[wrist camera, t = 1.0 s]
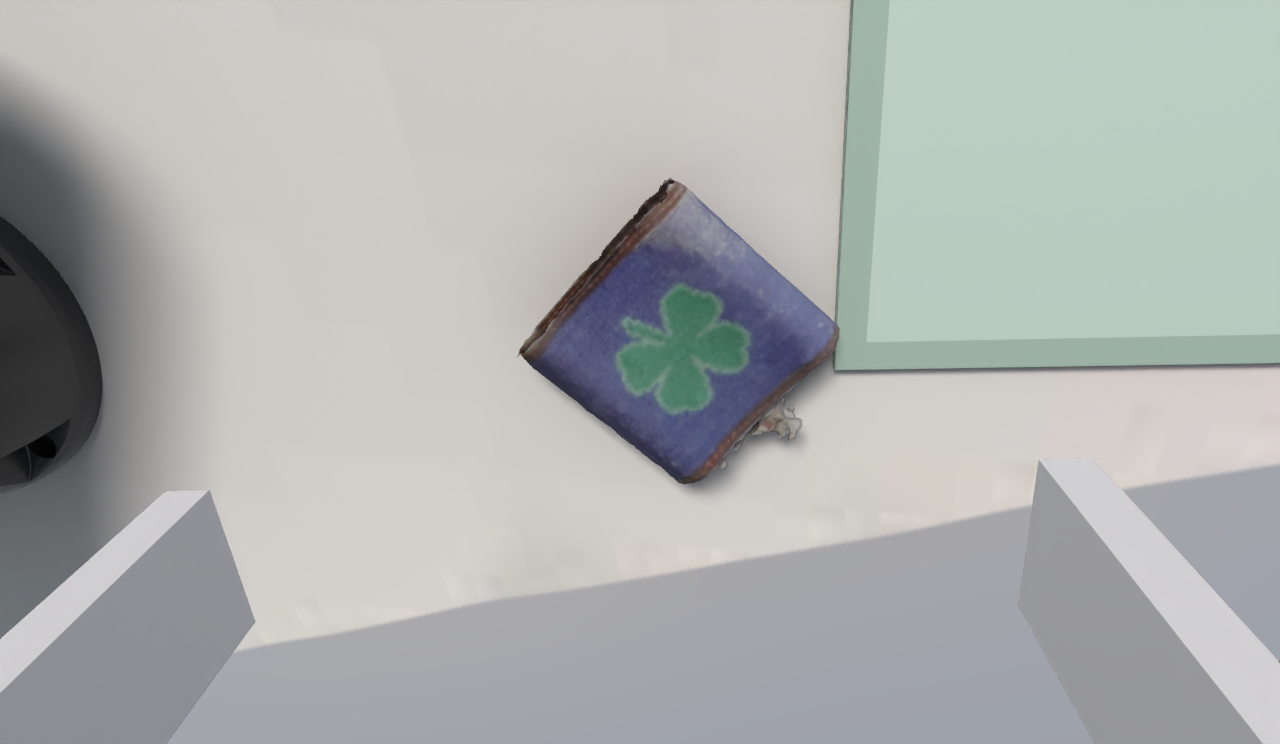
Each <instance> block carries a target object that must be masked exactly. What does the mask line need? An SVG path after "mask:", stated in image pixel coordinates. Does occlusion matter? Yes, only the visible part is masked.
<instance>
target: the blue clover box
mask: <svg viewBox="0 0 1280 744" xmlns="http://www.w3.org/2000/svg"><path fill="white" fill-rule="evenodd" d="M839 332H840V328H839V327H838V325H837V324H836V323H835V322H834V321H833V320H832V319H831V318H830V317H828V316H827V315H826V314H825V313H824V312H823V311H822V310H820V309H819V308H818V307H817V306H816V305H815V304H814V303H813V302H811V301H810V300H809V299H808V298H807V297H806V296H805V295H804V294H803V293H802V292H800V291H799V290H798V289H797V288H796V287H795V286H794V285H792V284H791V283H790V282H789V281H788V280H787V279H786V278H785V277H783V276H782V275H781V274H780V273H779V272H778V271H777V270H776V269H775V268H773V267H772V266H771V265H770V264H769V263H768V262H767V261H766V260H765V259H764V258H762V257H761V256H760V255H759V254H758V253H756V252H755V251H754V250H753V249H752V248H751V247H750V246H749V245H748V244H747V243H746V242H745V241H744V240H743V239H742V238H741V237H740V236H739V235H738V234H737V233H735V232H734V231H733V230H732V229H730V228H729V227H728V226H727V225H726V224H725V223H724V222H723V221H722V220H721V219H720V218H719V217H718V216H717V215H716V214H714V213H713V212H712V211H711V210H710V209H709V208H708V207H707V206H706V205H705V204H704V203H702V202H701V201H700V200H699V199H698V198H697V197H696V196H695V195H694V194H693V193H692V192H691V191H690V190H689V189H688V188H687V187H686V186H684V185H683V184H681V183H679V182H677V181H674V180H672V179H671V178H669V180H666V181H664V183H663V185H662V186H661V185H660V188H659V191H658V192H657V193H656V194H655V195H653V196H652V197H650V198H649V199H648V200H646V201H645V202H644V204H643V205H642V206H641V207H640V208H639V210H638V213H637V214H636V215H634V218H633V219H631V220H629V222H628V223H627V224H626V225H625V226H624V227H623V228H622V229H621V231H620V232H619V233H618V234H617V235H616V237H614V238H613V240H612V241H611V242H610V243H609V244H608V245H607V246H606V248H605V249H604V250H603V252H602V256H600V257H599V260H597V261H595V262H594V263H592V264H591V265H590V266H589V268H588V269H587V270H586V271H584V272H583V273H582V274H581V275H580V276H579V277H578V279H577V280H576V281H575V282H574V283H573V285H572V286H571V288H569V291H567V292H566V293H565V294H564V295H563V297H562V298H561V299H560V300H559V301H558V302H557V304H556V305H555V306H554V307H553V308H552V309H551V310H550V312H549V313H548V314H547V315H546V316H545V317H544V319H543V320H542V321H541V322H540V323H539V324H538V325H537V326H536V328H535V329H534V331H533V333H532V335H531V336H530V337H529V338H528V339H527V340H526V341H525V343H524V344H523V346H522V347H521V348H520V351H519V355H520V354H521V355H522V357H523V358H524V359H525V360H526V361H527V362H528V363H529V364H530V365H531V366H532V367H533V368H534V369H535V370H537V371H538V372H539V373H541V374H542V375H543V376H544V377H546V378H547V379H548V380H550V381H551V382H552V383H554V384H555V385H556V386H557V387H559V388H560V389H561V390H563V391H564V392H565V393H567V394H568V395H569V396H571V397H572V398H573V399H575V400H576V401H577V402H578V403H579V404H580V405H582V406H583V407H584V408H585V409H586V410H587V411H588V412H590V413H592V414H593V415H595V416H596V417H597V418H598V419H600V420H601V421H603V422H604V423H605V424H607V425H608V426H610V427H611V428H612V429H613V430H615V431H616V432H617V433H618V434H619V435H620V436H621V437H622V438H624V439H625V440H626V441H628V442H629V443H630V444H632V445H634V446H635V447H636V448H637V449H638V450H640V451H641V452H642V453H643V454H644V455H646V456H647V457H648V458H649V459H650V460H652V461H653V462H654V463H656V464H658V465H659V466H661V467H662V468H663V469H664V470H665V471H666V472H667V473H668V474H669V475H670V476H672V477H674V478H675V479H676V480H677V481H678V482H679V483H682V484H688V483H695V482H697V481H700V480H702V479H703V478H705V477H706V476H707V475H708V474H709V473H711V472H713V471H715V470H716V469H717V468H718V469H720V470H721V469H725V468H726V467H727V462H726V460H725V459H724V457H725V456H727V454H728V453H729V452H730V451H731V449H732V448H733V447H734V445H735V448H734V451H737V450H738V448H739V447H740V446H741V445H742V443H743V441H744V439H745V437H746V435H747V434H748V433H749V434H751V435H760V434H761V433H763V432H769V431H772V432H778V435H779V437H778V438H779V439H780V438H781V437H785V436H786V435H787V434H788V433H789V432H790V435H789V436H788V439H792V438H795V434H796V432H797V431H798V430H799V429H800V428H801V426H802V420H801V419H799V418H796V417H795V415H794V414H793V413H792V411H793V410H794V409H795V408H794V407H793V406H789V407H788V410H787V409H786V408H785V406H784V405H783V404H784V397H783V396H784V395H785V394H787V393H788V392H789V391H790V390H791V389H793V387H794V386H795V385H796V384H797V383H798V382H800V381H801V380H803V379H804V378H805V377H806V376H807V375H808V374H809V373H810V372H812V371H813V370H814V369H816V368H817V367H818V366H820V365H821V364H822V363H823V362H824V361H825V360H826V359H828V357H829V356H830V355H831V354H832V353H833V352H834V350H835V349H836V345H837V342H838V340H839V338H840V337H839ZM519 355H518V356H519ZM518 356H517V357H518ZM789 410H790V411H789Z"/></svg>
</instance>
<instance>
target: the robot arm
mask: <svg viewBox="0 0 1280 744" xmlns="http://www.w3.org/2000/svg"><path fill="white" fill-rule="evenodd" d="M101 395H102V376H101V367H100V360H99V355H98V351H97V347H96V344H95V341H94V337H93V334H92V332H91V329H90V327H89V324H88V322H87V320H86V317H85V315H84V313H83V311H82V309H81V307H80V305H79V304H78V302H77V300H76V298H75V297H74V295H73V293H72V292H71V290H70V288H69V287H68V285H67V284H66V283H65V281H64V280H63V278H62V277H61V276H60V274H59V273H58V272H57V270H56V269H55V268H54V267H53V265H52V264H51V263H50V262H49V261H48V260H47V258H46V257H45V256H44V255H43V254H42V253H41V252H40V251H39V250H38V249H37V248H36V247H35V246H34V245H33V244H32V243H31V242H30V241H29V240H28V239H27V238H26V237H25V236H24V235H23V234H22V233H21V232H19V231H18V230H17V229H16V228H15V227H13V226H12V225H11V224H10V223H9V222H7V221H6V220H5V219H3V218H2V217H0V493H4V492H7V491H11V490H14V489H18V488H20V487H23V486H26V485H28V484H30V483H32V482H34V481H36V480H38V479H40V478H42V477H44V476H46V475H47V474H49V473H50V472H52V471H53V470H55V469H56V468H58V467H59V466H61V465H62V464H64V463H65V462H66V461H68V460H69V459H70V458H71V457H72V456H74V455H75V454H76V453H77V452H78V451H79V449H80V448H81V447H82V446H83V445H84V443H85V442H86V440H87V439H88V437H89V435H90V434H91V432H92V430H93V428H94V425H95V423H96V420H97V417H98V413H99V409H100V403H101ZM1018 606H1019V608H1020V610H1021V612H1022V614H1023V615H1024V617H1025V619H1026V621H1027V623H1028V624H1029V626H1030V628H1031V630H1032V632H1033V633H1034V635H1035V637H1036V639H1037V641H1038V642H1039V644H1040V646H1041V648H1042V650H1043V651H1044V653H1045V655H1046V657H1047V658H1048V660H1049V662H1050V664H1051V666H1052V668H1053V669H1054V671H1055V673H1056V675H1057V677H1058V678H1059V680H1060V682H1061V683H1062V686H1063V687H1064V689H1065V691H1066V693H1067V695H1068V696H1069V698H1070V700H1071V702H1072V703H1073V705H1074V707H1075V709H1076V711H1077V713H1078V714H1079V716H1080V718H1081V720H1082V722H1083V723H1084V725H1085V727H1086V729H1087V730H1088V732H1089V734H1090V736H1091V738H1092V739H1093V741H1094V743H1095V744H1280V661H1277V659H1276V658H1275V657H1274V656H1273V655H1272V654H1271V653H1270V652H1269V650H1268V649H1267V648H1266V647H1265V646H1264V645H1263V644H1262V643H1261V642H1260V641H1259V639H1258V638H1257V637H1256V636H1255V635H1254V634H1253V633H1252V632H1251V631H1250V630H1249V629H1248V627H1246V625H1245V624H1244V623H1243V622H1242V621H1241V620H1240V619H1239V618H1238V617H1237V615H1236V614H1235V613H1234V612H1233V611H1232V610H1231V609H1230V608H1229V607H1228V606H1227V605H1226V603H1224V601H1223V600H1222V599H1221V598H1220V597H1219V596H1218V595H1217V594H1216V592H1215V591H1214V590H1213V589H1212V588H1211V587H1210V586H1209V585H1208V584H1207V583H1206V582H1205V581H1204V579H1203V578H1202V577H1201V576H1200V575H1199V574H1198V573H1197V572H1196V571H1195V569H1194V568H1193V567H1192V566H1191V565H1190V564H1189V563H1188V562H1187V561H1186V560H1185V559H1184V558H1183V556H1182V555H1181V554H1180V553H1179V552H1178V551H1177V550H1176V549H1175V548H1174V547H1173V545H1172V544H1171V543H1170V542H1169V541H1168V540H1167V539H1166V538H1165V537H1164V536H1163V535H1162V533H1161V532H1160V531H1159V530H1158V529H1157V528H1156V527H1155V526H1154V525H1153V524H1152V522H1151V521H1150V520H1149V519H1148V518H1147V517H1146V516H1145V515H1144V514H1143V513H1142V512H1141V511H1140V509H1139V508H1138V507H1137V506H1136V505H1135V504H1134V503H1133V502H1132V501H1131V500H1130V498H1129V497H1128V496H1127V495H1126V494H1125V493H1124V492H1123V491H1122V490H1121V489H1120V487H1119V486H1118V485H1117V484H1116V483H1115V482H1114V481H1113V480H1112V479H1111V478H1110V477H1109V475H1108V474H1107V473H1106V472H1105V471H1104V470H1103V469H1102V468H1101V467H1100V466H1099V465H1098V463H1097V462H1096V461H1095V460H1094V459H1093V458H1069V459H1042V460H1039V462H1038V469H1037V476H1036V483H1035V490H1034V497H1033V504H1032V511H1031V519H1030V526H1029V532H1028V539H1027V547H1026V553H1025V560H1024V568H1023V575H1022V582H1021V589H1020V596H1019V603H1018ZM254 623H255V619H254V617H253V614H252V611H251V608H250V605H249V602H248V599H247V596H246V594H245V591H244V588H243V585H242V582H241V579H240V576H239V574H238V571H237V568H236V565H235V562H234V559H233V556H232V553H231V551H230V548H229V545H228V542H227V539H226V536H225V533H224V531H223V528H222V525H221V522H220V519H219V516H218V513H217V510H216V508H215V505H214V502H213V499H212V496H211V493H210V490H193V491H166V492H164V493H163V494H162V495H161V496H160V497H159V498H158V499H156V500H155V501H154V502H153V503H152V504H151V505H150V506H149V507H148V508H146V509H145V510H144V511H143V512H142V513H141V514H140V515H139V516H137V517H136V518H135V519H134V520H133V521H132V522H131V523H130V524H128V525H127V526H126V527H125V528H124V529H123V530H122V531H121V532H120V533H118V534H117V535H116V536H115V537H114V538H113V539H112V540H111V541H109V542H108V543H107V544H106V545H105V546H104V547H103V548H102V549H100V550H99V551H98V552H97V553H96V554H95V555H94V556H93V557H92V558H90V559H89V560H88V561H87V562H86V563H85V564H84V565H83V566H81V567H80V568H79V569H78V570H77V571H76V572H75V573H74V574H72V575H71V576H70V577H69V578H68V579H67V580H66V581H65V582H64V583H62V584H61V585H60V586H59V587H58V588H57V589H56V590H55V591H53V592H52V593H51V594H50V595H49V596H48V597H47V598H46V599H44V600H43V601H42V602H41V603H40V604H39V605H38V606H37V607H36V608H34V609H33V610H32V611H31V612H30V613H29V614H28V615H27V616H25V617H24V618H23V619H22V620H21V621H20V622H19V623H18V624H16V625H15V626H14V627H13V628H12V629H11V630H10V631H9V632H7V633H6V634H5V635H4V636H3V637H2V638H1V639H0V744H167V742H168V741H169V740H170V738H171V737H172V735H173V734H174V733H175V731H176V730H177V729H178V727H179V726H180V724H181V723H182V722H183V720H184V719H185V718H186V716H187V715H188V713H189V712H190V711H191V709H192V708H193V707H194V705H195V704H196V702H197V701H198V700H199V698H200V697H201V696H202V694H203V693H204V692H205V690H206V689H207V687H208V686H209V685H210V683H211V682H212V680H213V679H214V678H215V676H216V675H217V674H218V672H219V671H220V670H221V668H222V667H223V665H224V664H225V663H226V661H227V660H228V658H229V657H230V656H231V654H232V653H233V652H234V650H235V649H236V648H237V646H238V645H239V643H240V642H241V641H242V639H243V638H244V637H245V635H246V634H247V632H248V631H249V630H250V628H251V627H252V626H253V624H254Z"/></svg>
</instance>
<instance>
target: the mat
mask: <svg viewBox="0 0 1280 744" xmlns="http://www.w3.org/2000/svg"><path fill="white" fill-rule="evenodd" d="M835 323H836V324H837V325H838V327H839V328H840V332H839V337H840V338H839V340H838V342H837V345H836V349H835V350H834V352H833V367H834V370H872V369H934V368H996V367H1057V366H1119V365H1181V364H1242V363H1280V0H851V7H850V27H849V47H848V66H847V86H846V106H845V126H844V146H843V166H842V186H841V206H840V226H839V246H838V265H837V285H836V305H835Z"/></svg>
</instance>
